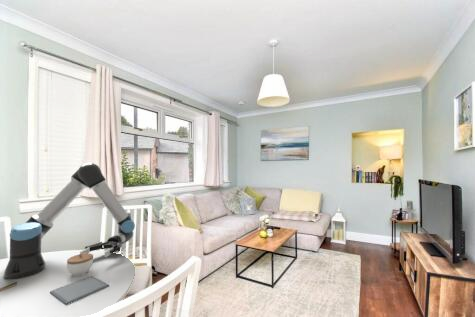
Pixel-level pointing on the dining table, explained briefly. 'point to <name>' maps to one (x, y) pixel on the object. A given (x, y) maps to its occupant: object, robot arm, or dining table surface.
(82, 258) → the lidded jar
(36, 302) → the dining table surface
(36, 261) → the robot arm
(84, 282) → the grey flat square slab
